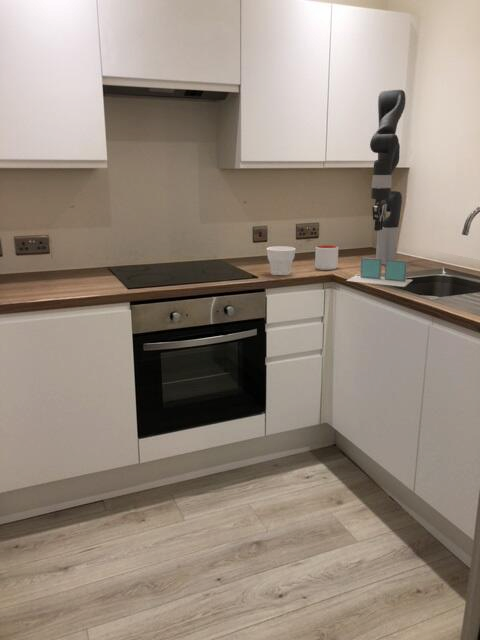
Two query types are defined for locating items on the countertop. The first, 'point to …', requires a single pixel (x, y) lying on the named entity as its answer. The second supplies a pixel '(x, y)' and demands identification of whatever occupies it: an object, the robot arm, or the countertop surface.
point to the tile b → (396, 270)
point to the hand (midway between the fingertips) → (378, 229)
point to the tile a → (371, 268)
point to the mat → (379, 281)
